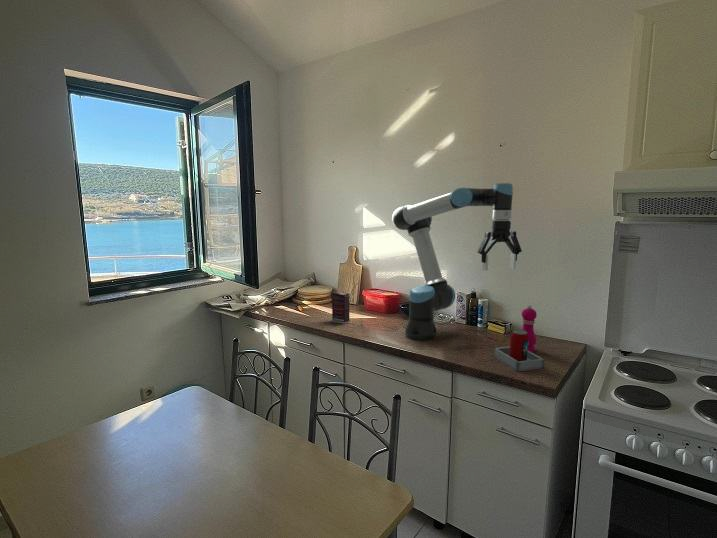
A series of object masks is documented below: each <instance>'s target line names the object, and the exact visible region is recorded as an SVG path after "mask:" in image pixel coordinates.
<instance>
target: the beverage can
mask: <svg viewBox="0 0 717 538" xmlns="http://www.w3.org/2000/svg"><path fill="white" fill-rule="evenodd" d="M509 340H510V341H509V346H510V353H509V356H510V357H512V358H514V359H515V360H517V361H526V360H527V355H528V341H529V336H528V334H527V332H526V331H524V330H523V329H512V332H511V333H510V339H509Z"/></svg>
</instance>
